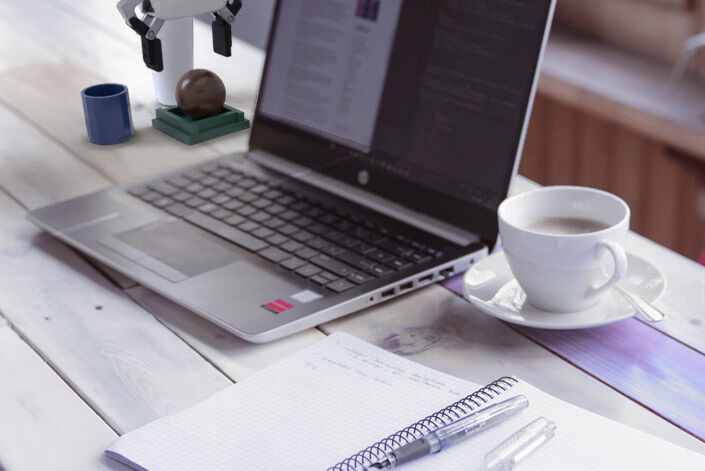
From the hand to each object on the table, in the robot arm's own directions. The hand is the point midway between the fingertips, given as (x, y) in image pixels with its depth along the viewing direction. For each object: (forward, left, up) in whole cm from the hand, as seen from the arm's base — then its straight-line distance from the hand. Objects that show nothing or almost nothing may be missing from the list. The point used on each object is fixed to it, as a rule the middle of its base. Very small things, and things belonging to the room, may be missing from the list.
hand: (189, 61), depth 117 cm
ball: (+1, 0, -4) cm, 5 cm away
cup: (-9, +5, -9) cm, 14 cm away
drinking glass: (+4, +11, -9) cm, 14 cm away
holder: (+1, 0, -9) cm, 9 cm away
